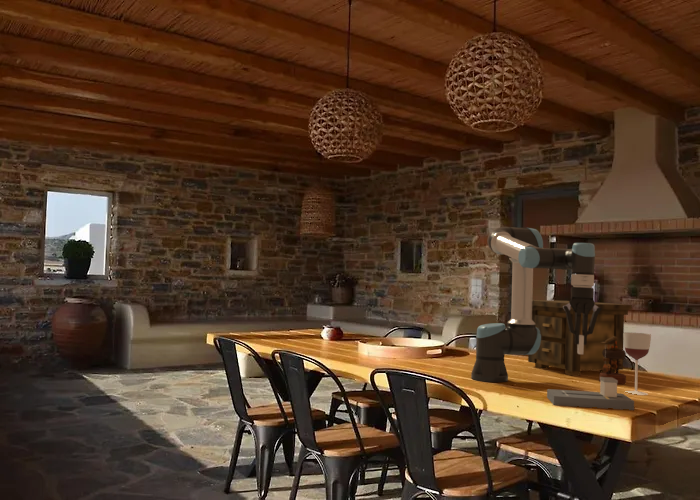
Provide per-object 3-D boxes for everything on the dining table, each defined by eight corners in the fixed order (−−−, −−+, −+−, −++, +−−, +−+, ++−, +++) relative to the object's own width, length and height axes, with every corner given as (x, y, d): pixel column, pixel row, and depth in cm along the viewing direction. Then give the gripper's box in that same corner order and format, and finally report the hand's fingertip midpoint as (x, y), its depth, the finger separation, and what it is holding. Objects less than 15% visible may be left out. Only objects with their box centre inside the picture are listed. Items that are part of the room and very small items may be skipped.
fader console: (553, 405, 215) (553, 395, 215) (547, 397, 228) (547, 388, 228) (634, 410, 211) (634, 400, 211) (622, 402, 225) (622, 393, 225)
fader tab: (604, 396, 216) (604, 379, 216) (599, 393, 222) (599, 376, 222) (617, 397, 215) (617, 380, 215) (612, 394, 222) (612, 377, 222)
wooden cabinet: (630, 375, 292) (631, 304, 294) (571, 377, 279) (573, 303, 280) (576, 364, 325) (577, 301, 326) (521, 365, 311) (522, 299, 312)
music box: (618, 385, 260) (615, 337, 262) (593, 383, 269) (590, 336, 271) (635, 382, 270) (631, 335, 272) (610, 380, 279) (607, 335, 281)
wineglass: (617, 390, 249) (618, 332, 250) (641, 391, 250) (642, 332, 251) (629, 394, 240) (631, 334, 241) (654, 395, 241) (656, 335, 241)
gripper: (565, 286, 219) (563, 354, 218) (604, 287, 217) (602, 356, 216) (561, 285, 226) (559, 351, 226) (599, 287, 224) (597, 353, 224)
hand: (580, 353), depth 221 cm, fingers closed
